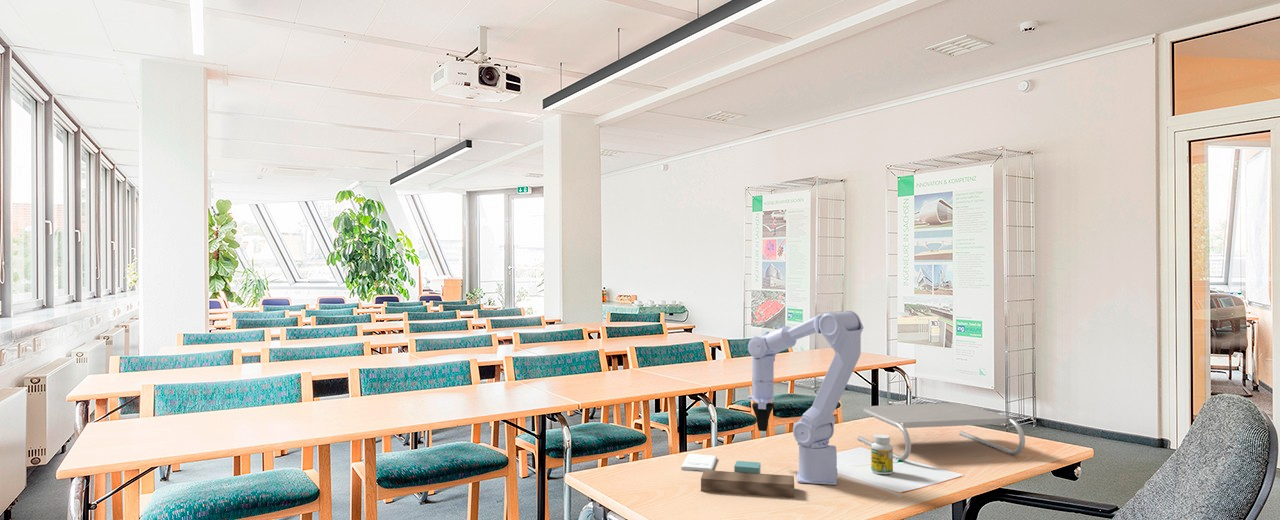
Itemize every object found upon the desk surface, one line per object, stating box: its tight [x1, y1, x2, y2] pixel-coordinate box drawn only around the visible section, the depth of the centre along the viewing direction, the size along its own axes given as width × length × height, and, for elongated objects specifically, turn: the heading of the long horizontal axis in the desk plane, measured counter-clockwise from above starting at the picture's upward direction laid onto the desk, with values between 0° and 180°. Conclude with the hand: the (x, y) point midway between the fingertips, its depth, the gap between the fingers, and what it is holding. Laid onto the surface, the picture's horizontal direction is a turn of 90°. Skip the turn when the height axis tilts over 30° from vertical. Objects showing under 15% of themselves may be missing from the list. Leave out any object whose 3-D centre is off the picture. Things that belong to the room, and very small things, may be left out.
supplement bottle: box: [870, 433, 894, 475], centre depth 186 cm, size 5×5×10 cm
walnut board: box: [700, 470, 795, 498], centre depth 171 cm, size 22×7×3 cm, turn 79°
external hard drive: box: [680, 453, 718, 472], centre depth 192 cm, size 2×8×12 cm
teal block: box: [733, 460, 761, 474], centre depth 178 cm, size 6×5×4 cm
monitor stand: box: [857, 402, 1026, 462], centre depth 210 cm, size 37×28×11 cm
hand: (762, 430), depth 192 cm, fingers closed
